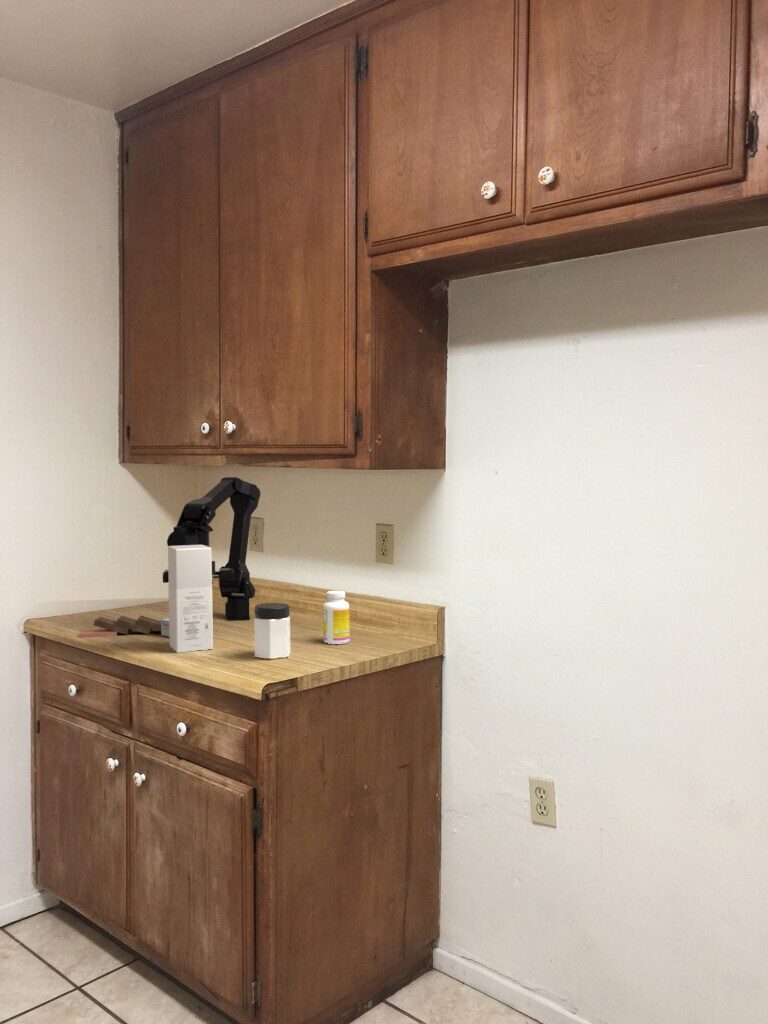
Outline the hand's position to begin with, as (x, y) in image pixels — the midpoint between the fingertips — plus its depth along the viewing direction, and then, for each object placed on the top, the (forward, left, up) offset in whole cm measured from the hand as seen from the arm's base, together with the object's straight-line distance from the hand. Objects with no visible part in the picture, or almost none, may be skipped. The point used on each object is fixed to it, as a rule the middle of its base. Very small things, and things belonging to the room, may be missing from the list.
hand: (199, 607), depth 237 cm
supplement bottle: (-34, +22, -7) cm, 41 cm away
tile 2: (+13, 0, -6) cm, 14 cm away
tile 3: (+18, 0, -6) cm, 19 cm away
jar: (-17, +34, -7) cm, 39 cm away
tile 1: (+7, 0, -6) cm, 9 cm away
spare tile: (+21, 0, -6) cm, 22 cm away
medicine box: (+1, +2, -4) cm, 5 cm away
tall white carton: (+2, +21, -7) cm, 22 cm away
